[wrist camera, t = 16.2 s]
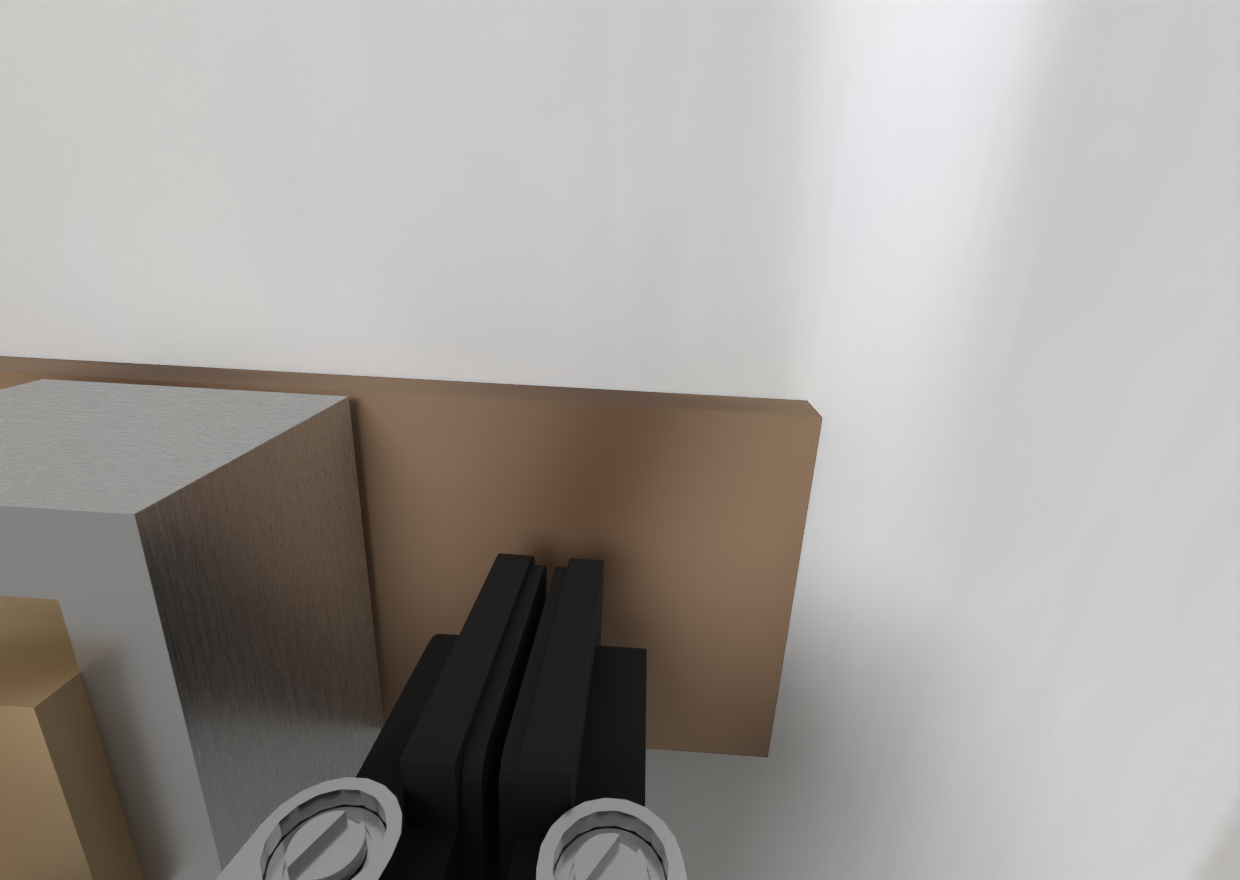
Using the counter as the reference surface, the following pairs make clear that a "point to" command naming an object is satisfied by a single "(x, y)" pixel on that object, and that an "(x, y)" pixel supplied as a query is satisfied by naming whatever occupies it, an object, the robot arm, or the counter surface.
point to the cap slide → (198, 595)
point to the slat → (53, 759)
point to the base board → (570, 520)
